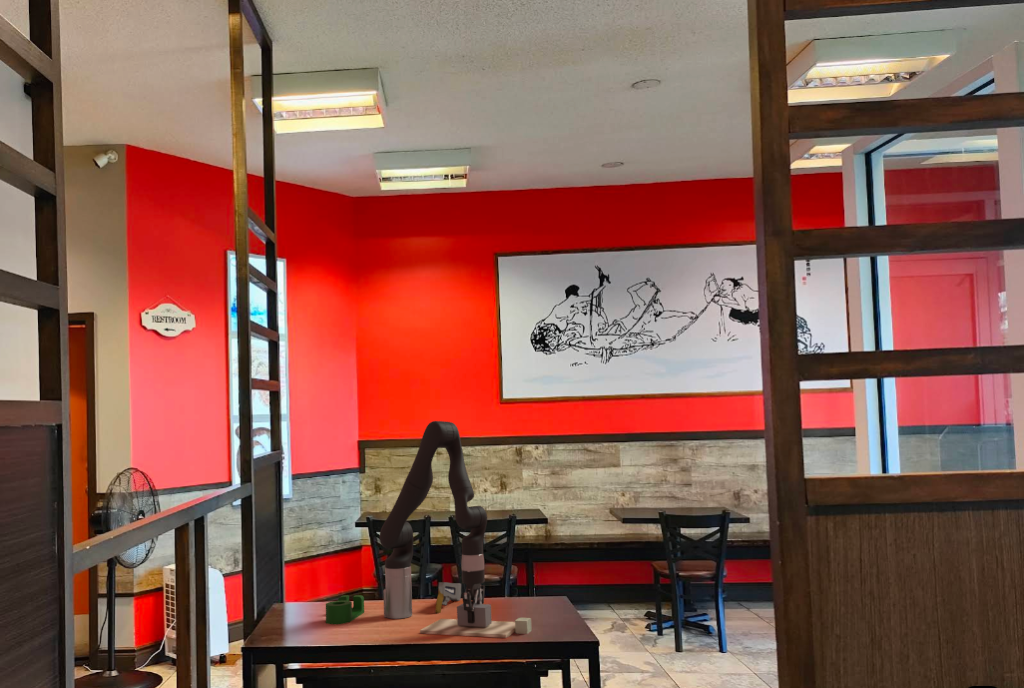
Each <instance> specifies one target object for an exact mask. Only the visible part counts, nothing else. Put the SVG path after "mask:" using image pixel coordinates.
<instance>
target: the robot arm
mask: <svg viewBox="0 0 1024 688" xmlns="http://www.w3.org/2000/svg"><path fill="white" fill-rule="evenodd" d="M461 441H462V440H461V436H460V431H459V429H458V426H457V425H456V424H455V423H454V422H452V421H444V420H441V421H440V420H434V421H433V420H432V421H431V422H430V423H428V424H427V426H426V427H425V429H424V431H423V435H422V438H421V441H420V445H419V446H418V449H417V452H416V455H415V458H414V460H413V463H412V466H411V468H410V469H409V472H408V474H407V476H406V478H405V481H404V483H403V484H402V487H401V490H400V492H399V495H398V496H397V498H396V500H395V502H394V505H393V507H392V509H391V510H390V513H389V514H388V516H387V517H386V520H385V521H384V523H383V525H382V527H381V528H380V531H379V542H380V545H381V546H382V547H383V548H385V549H388V550H391V549H393V550H392V552H391V554H390V555H389V556H388V557H387V558H386V559H385V561H384V568H385V569H384V570H385V572H384V573H385V575H384V576H385V588H384V589H383V591H382V592H383V593H382V594H383V596H382V597H383V617H384V618H387V619H394V620H395V619H397V620H398V619H405V618H406V619H407V618H411V617H413V596H412V594H413V592H412V560H413V555H414V531H413V528H412V525H411V523H409V522H408V521H407V520H408V519H409V517H410V516H411V515H412V514H413V513H414V512H415V511H417V509H418V508H419V507H420V505H422V503H424V501H425V500H426V498H427V496H428V494H429V492H430V490H431V488H432V485H433V480H434V477H433V475H434V474H433V469H432V468H433V466H432V462H433V459H434V456H435V454H436V452H437V451H438V449H441V448H442V449H445V450H446V452H447V454H448V457H449V458H448V459H449V468H448V475H447V478H448V480H447V481H448V484H449V485H448V486H449V488H450V490H451V495H452V497H453V500H454V501H453V502H454V517H455V518H454V519H455V522H456V524H457V526H458V527H459V528H461V529H462V530H469V529H471V530H470V532H469V534H467V535H465V536H463V537H462V539H461V584H464V585H466V587H465V588H466V589H465V592H461V599H462V604H463V606H464V610H465V611H467V614H468V623H474V622H475V615H474V609H475V604H485V590H486V589H485V588H486V587H485V586H486V585H485V584H483V583H485V581H486V577H485V575H486V574H485V558H484V557H485V556H484V543H483V542H484V538H485V533H486V529H487V524H488V515H487V510H485V508H484V507H483V506H481V505H475V506H473V505H472V506H468V502H470V501H472V500H473V499H474V497H475V493H474V488H473V486H472V483H471V480H470V478H469V475H468V472H467V467H466V464H465V458H464V453H463V447H462V442H461ZM482 584H483V585H482ZM466 604H467V606H466Z"/></svg>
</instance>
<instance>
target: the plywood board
mask: <svg viewBox="0 0 1024 688" xmlns="http://www.w3.org/2000/svg"><path fill="white" fill-rule="evenodd" d="M491 622H492V623H491V624H490V625H488V626H487V627H476V626H458V624H457V618H455V619H453V618H440V619H438V620H436V621H434V622H432V623H431V624H428V625H427V626H425V627H423V628H422V629H419V634H427V635H446V636H463V637H464V636H466V637H479V638H480V637H484V638H502V639H503V638H504V639H506V638H508V637H510V636H511V635H512V634H514V633H516V630H515V621H500V620H499V621H495V620H491Z"/></svg>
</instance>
